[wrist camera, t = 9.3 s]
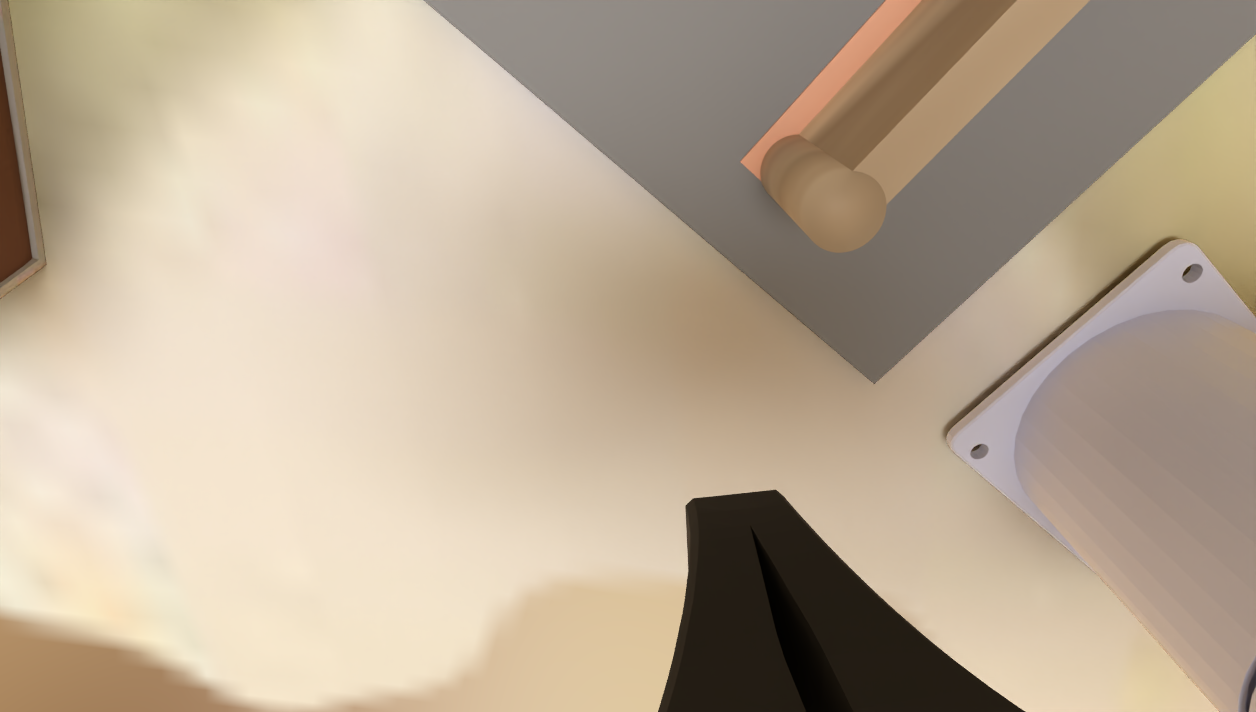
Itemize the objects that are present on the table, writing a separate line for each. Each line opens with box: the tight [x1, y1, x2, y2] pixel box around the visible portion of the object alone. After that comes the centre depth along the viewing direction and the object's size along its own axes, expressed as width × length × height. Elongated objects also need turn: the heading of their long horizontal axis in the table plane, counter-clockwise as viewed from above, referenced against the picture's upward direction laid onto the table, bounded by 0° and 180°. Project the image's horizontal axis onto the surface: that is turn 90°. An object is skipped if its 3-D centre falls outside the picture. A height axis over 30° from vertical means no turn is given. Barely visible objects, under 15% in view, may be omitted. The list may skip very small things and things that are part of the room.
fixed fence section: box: [760, 0, 1090, 253], centre depth 15 cm, size 2×11×4 cm, turn 139°
